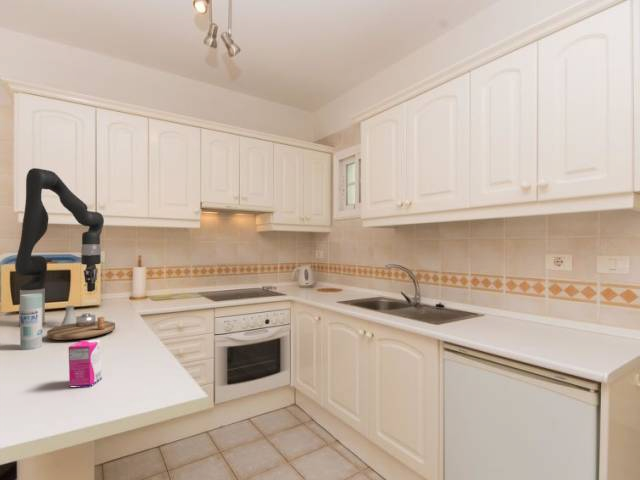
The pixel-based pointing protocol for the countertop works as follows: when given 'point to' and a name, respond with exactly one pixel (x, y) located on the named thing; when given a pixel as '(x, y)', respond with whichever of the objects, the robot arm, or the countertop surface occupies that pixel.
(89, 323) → the cover
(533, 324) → the countertop surface
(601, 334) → the countertop surface
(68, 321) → the flask
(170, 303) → the countertop surface
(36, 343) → the spray paint can
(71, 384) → the supplement box
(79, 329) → the turntable
